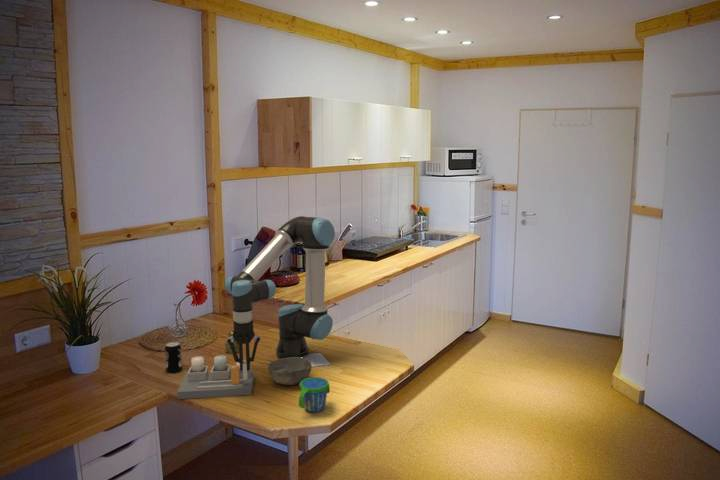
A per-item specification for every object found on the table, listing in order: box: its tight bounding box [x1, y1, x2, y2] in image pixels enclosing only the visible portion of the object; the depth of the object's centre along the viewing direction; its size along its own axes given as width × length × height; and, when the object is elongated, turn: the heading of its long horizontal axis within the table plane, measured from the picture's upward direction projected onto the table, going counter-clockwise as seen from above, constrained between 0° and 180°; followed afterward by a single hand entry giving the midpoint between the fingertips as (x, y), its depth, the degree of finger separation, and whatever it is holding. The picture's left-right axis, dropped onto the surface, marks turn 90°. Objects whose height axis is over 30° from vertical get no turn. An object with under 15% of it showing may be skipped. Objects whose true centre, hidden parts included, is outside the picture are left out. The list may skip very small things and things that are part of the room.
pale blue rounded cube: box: [213, 354, 228, 371], centre depth 233 cm, size 5×5×5 cm
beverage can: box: [164, 341, 183, 374], centre depth 248 cm, size 7×7×12 cm
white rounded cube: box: [190, 355, 205, 372], centre depth 232 cm, size 5×5×5 cm
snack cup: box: [298, 376, 331, 413], centre depth 210 cm, size 16×10×10 cm
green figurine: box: [224, 329, 239, 354], centre depth 271 cm, size 7×7×10 cm
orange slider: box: [230, 365, 240, 385], centre depth 225 cm, size 3×3×7 cm
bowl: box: [267, 357, 312, 386], centre depth 235 cm, size 18×18×8 cm
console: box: [176, 364, 255, 400], centre depth 230 cm, size 28×18×6 cm, turn 97°
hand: (245, 378), depth 226 cm, fingers closed
